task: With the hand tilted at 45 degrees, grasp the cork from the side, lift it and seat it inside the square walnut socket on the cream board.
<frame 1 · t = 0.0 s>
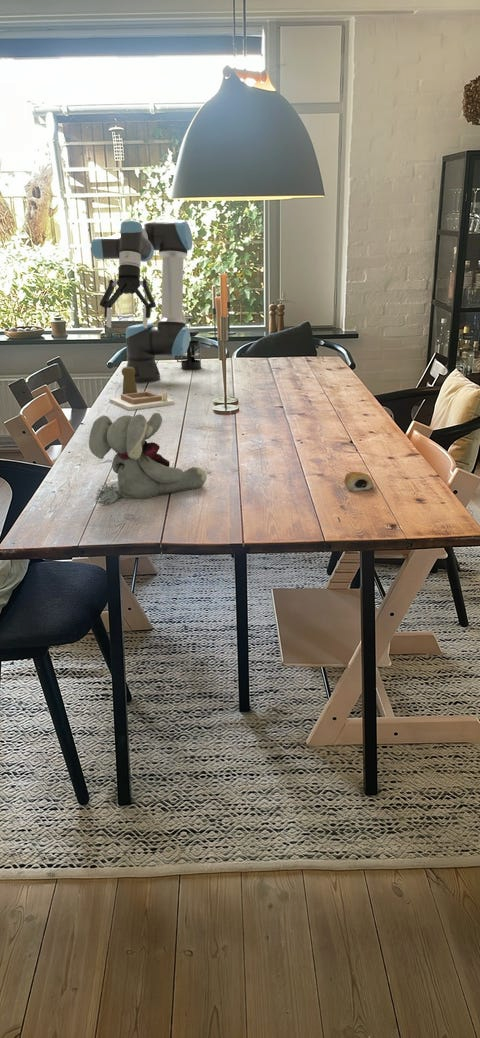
hand: (126, 327, 272), 28 cm above the table, tool tilted 20°, fingers open, 13 cm apart
plush elephant: (140, 491, 189), on the table
pastry: (357, 487, 189), on the table
seat board: (141, 402, 285), on the table
cork: (130, 396, 298), on the table
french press: (190, 368, 354), on the table
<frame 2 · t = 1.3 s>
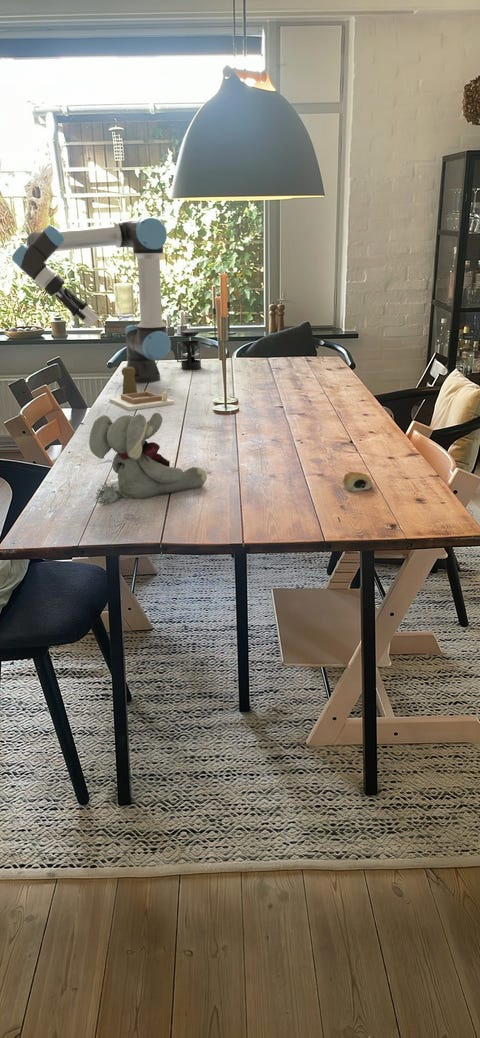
hand: (94, 322, 289), 28 cm above the table, tool tilted 45°, fingers open, 13 cm apart
nothing on the table moved.
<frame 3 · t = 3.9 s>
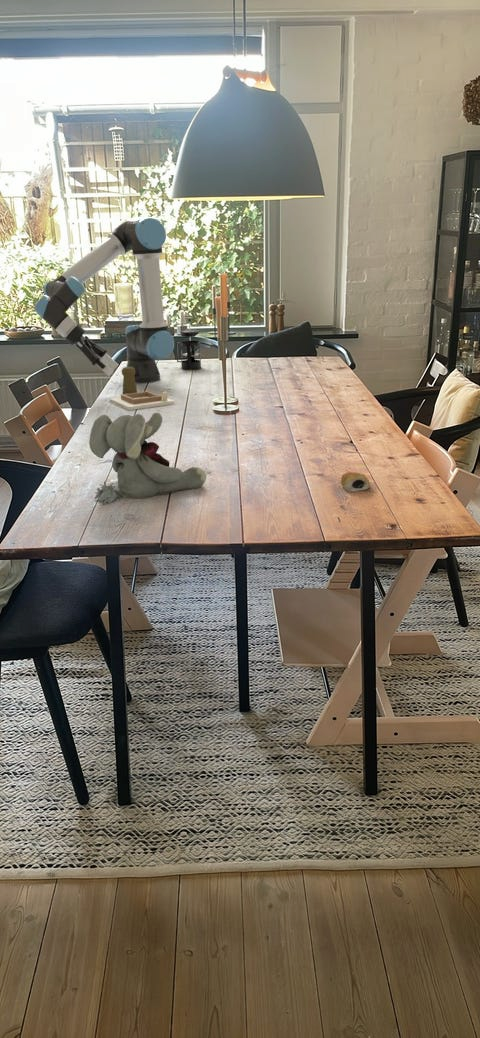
hand: (114, 370, 294), 10 cm above the table, tool tilted 45°, fingers open, 13 cm apart
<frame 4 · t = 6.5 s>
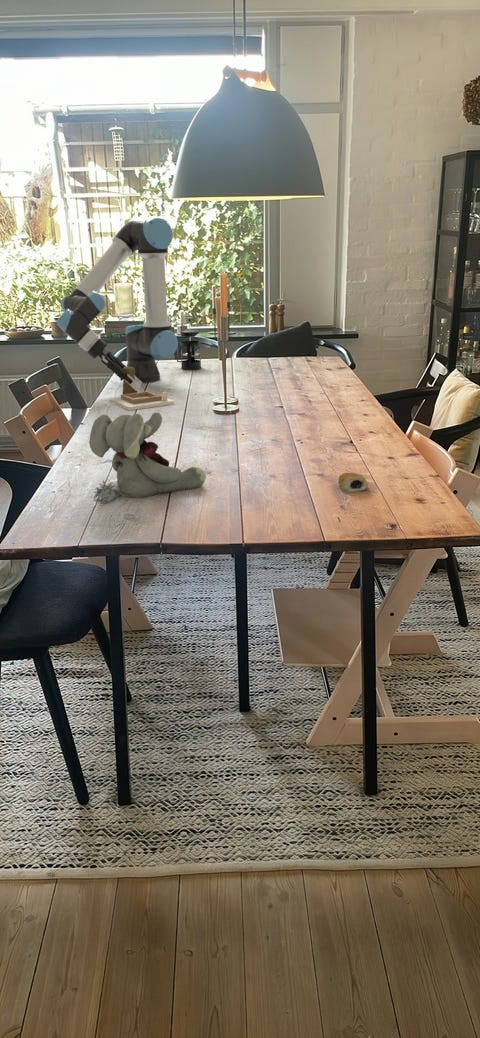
hand: (139, 386, 297), 3 cm above the table, tool tilted 45°, fingers closed on cork, 5 cm apart
cork: (130, 396, 298), on the table, touching gripper
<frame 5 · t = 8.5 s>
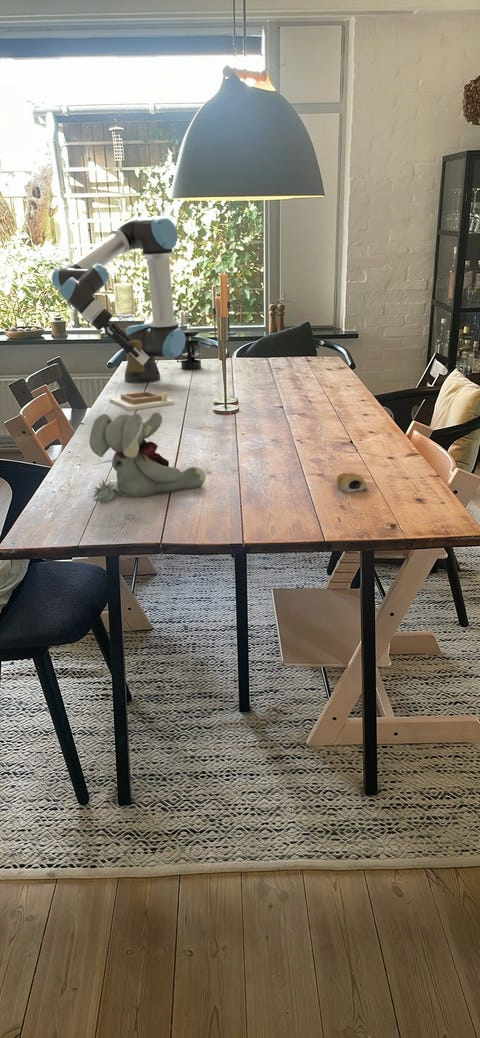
hand: (146, 361, 280), 15 cm above the table, tool tilted 45°, fingers closed on cork, 5 cm apart
cork: (136, 371, 281), point 12 cm above the table, touching gripper
when the fingers open (6 cm above the table, at t = 11.0 s): cork drops 1 cm, resting on seat board.
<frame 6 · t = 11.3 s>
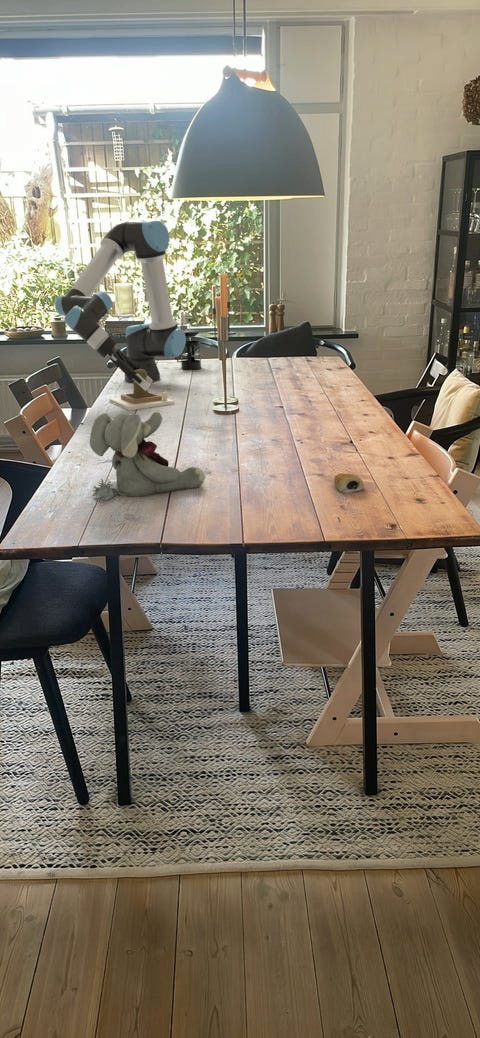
hand: (149, 385, 283), 6 cm above the table, tool tilted 45°, fingers open, 9 cm apart
cork: (141, 399, 285), point 1 cm above the table, touching seat board
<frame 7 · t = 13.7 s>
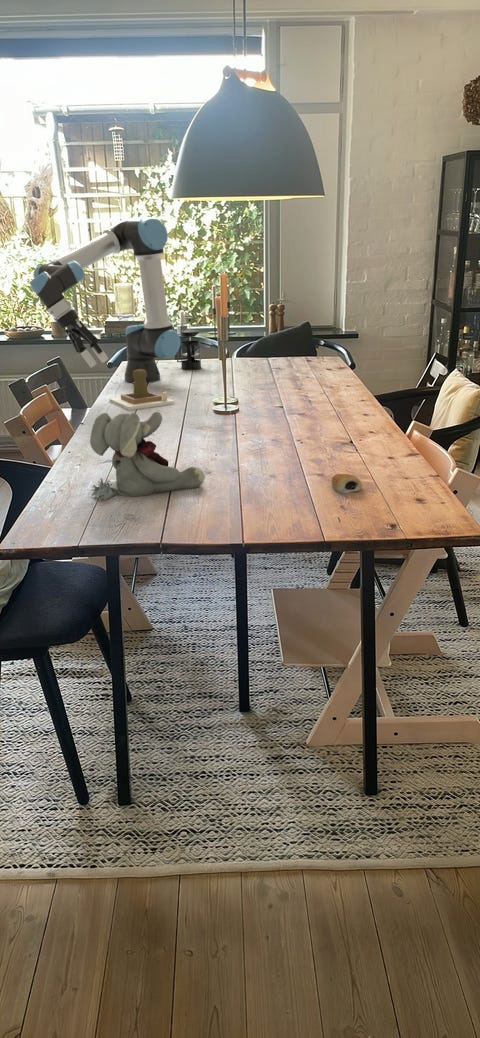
hand: (99, 363, 284), 14 cm above the table, tool tilted 30°, fingers open, 13 cm apart
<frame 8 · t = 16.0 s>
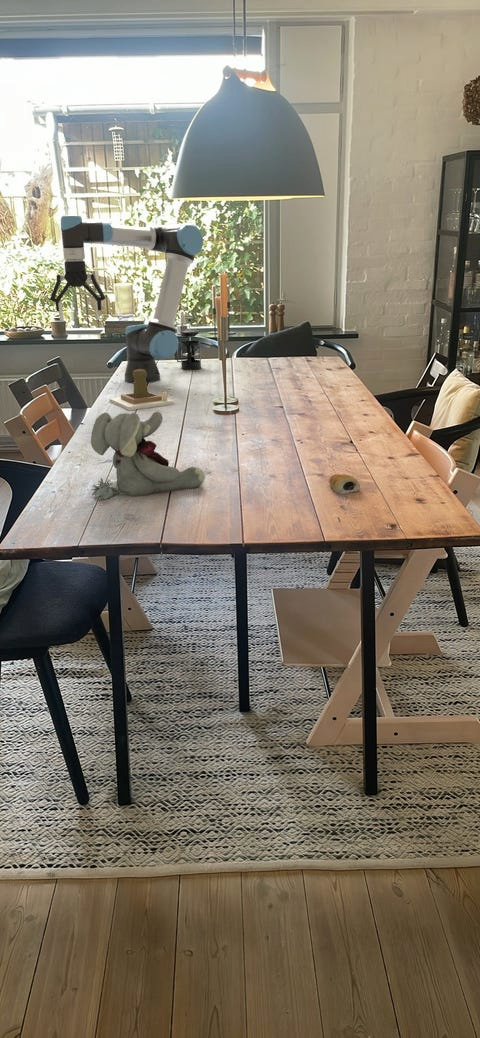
hand: (79, 320, 289), 29 cm above the table, tool pointing down, fingers open, 13 cm apart
at the end: cork inside the target area on the seat board (0.6 cm from its centre), point 1.0 cm above the seat board's base; cork tilted 0°; the gripper is holding nothing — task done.
